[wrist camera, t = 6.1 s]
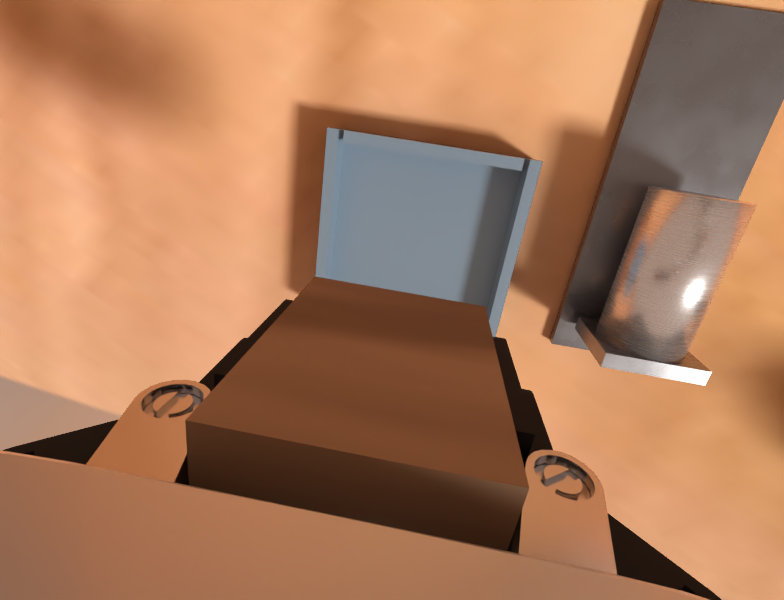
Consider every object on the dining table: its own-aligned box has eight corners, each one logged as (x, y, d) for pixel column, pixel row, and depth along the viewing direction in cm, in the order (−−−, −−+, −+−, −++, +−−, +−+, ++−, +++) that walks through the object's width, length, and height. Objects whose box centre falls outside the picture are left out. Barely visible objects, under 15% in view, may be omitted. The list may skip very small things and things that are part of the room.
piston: (625, 181, 22) (668, 191, 18) (725, 197, 22) (793, 211, 18) (574, 328, 26) (600, 366, 21) (661, 343, 25) (705, 385, 21)
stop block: (315, 276, 11) (184, 419, 5) (485, 306, 11) (529, 488, 5) (304, 414, 13) (197, 631, 7) (451, 443, 12) (457, 689, 7)
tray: (337, 128, 24) (327, 127, 22) (533, 159, 23) (542, 161, 21) (321, 306, 28) (311, 320, 26) (487, 337, 27) (491, 353, 25)
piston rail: (660, 0, 20) (665, -3, 20) (811, 20, 20) (820, 18, 19) (549, 339, 27) (551, 343, 26) (659, 359, 27) (663, 363, 26)
